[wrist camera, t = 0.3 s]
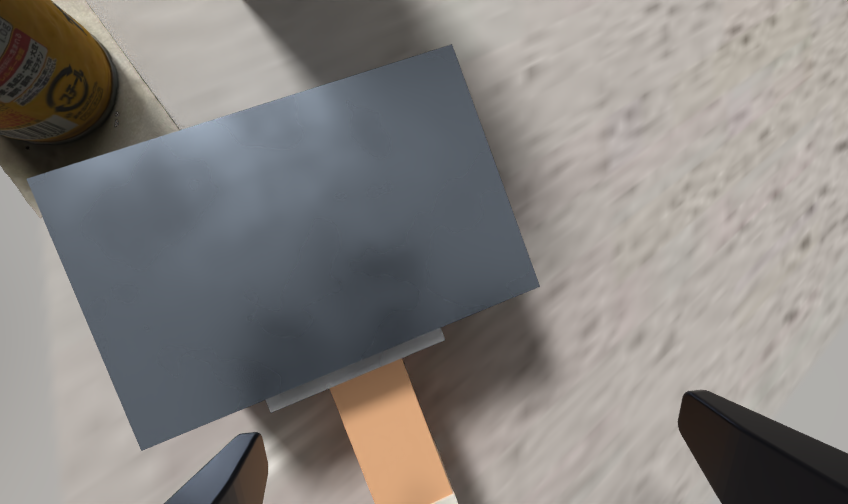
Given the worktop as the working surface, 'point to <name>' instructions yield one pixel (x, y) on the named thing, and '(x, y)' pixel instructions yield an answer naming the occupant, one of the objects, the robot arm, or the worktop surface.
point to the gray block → (286, 243)
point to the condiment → (66, 91)
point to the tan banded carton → (392, 438)
